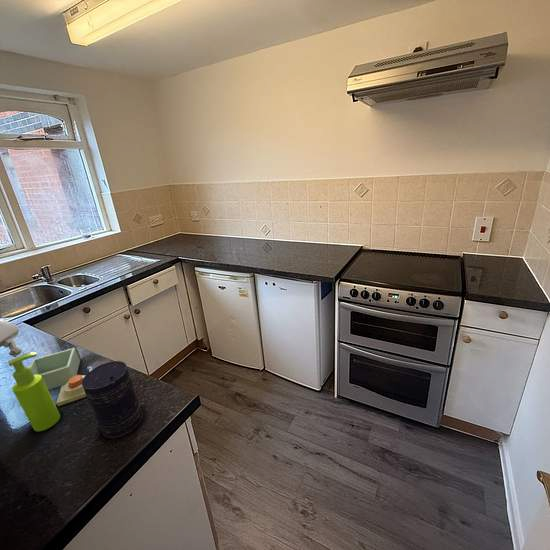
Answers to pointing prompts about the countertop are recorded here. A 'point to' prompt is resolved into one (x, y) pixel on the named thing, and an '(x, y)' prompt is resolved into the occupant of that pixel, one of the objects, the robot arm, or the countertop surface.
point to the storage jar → (113, 398)
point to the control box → (70, 394)
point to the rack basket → (56, 367)
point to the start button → (75, 381)
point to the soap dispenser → (33, 395)
